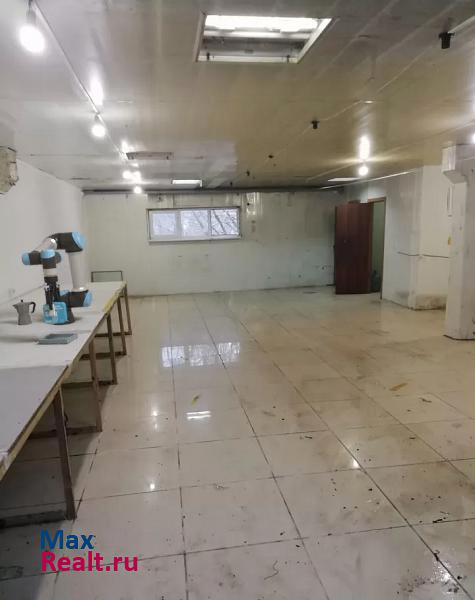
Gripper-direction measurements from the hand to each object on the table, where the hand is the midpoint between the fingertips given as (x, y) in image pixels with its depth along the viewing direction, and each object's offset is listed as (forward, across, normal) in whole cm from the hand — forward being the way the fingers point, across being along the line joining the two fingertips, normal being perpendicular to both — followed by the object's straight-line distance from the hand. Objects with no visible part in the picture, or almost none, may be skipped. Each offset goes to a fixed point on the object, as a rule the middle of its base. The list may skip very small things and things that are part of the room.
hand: (55, 313), depth 253 cm
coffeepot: (+17, -50, -51) cm, 73 cm away
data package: (+6, 0, 0) cm, 6 cm away
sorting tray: (+17, 0, 0) cm, 17 cm away
